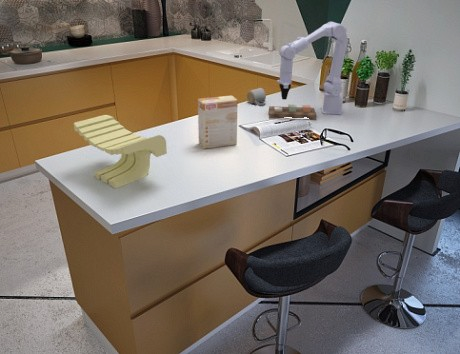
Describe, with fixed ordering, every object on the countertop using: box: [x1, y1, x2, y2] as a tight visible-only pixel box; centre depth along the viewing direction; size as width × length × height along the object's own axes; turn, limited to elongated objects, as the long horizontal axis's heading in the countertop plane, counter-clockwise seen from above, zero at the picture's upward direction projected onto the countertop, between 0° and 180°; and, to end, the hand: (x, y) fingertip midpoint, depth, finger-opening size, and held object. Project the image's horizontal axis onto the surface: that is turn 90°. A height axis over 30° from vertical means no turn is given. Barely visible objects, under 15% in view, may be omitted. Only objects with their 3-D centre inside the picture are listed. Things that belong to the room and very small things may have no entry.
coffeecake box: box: [197, 95, 238, 150], centre depth 178 cm, size 15×7×20 cm, turn 111°
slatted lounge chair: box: [73, 114, 168, 189], centre depth 150 cm, size 30×16×18 cm, turn 48°
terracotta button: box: [302, 104, 312, 113], centre depth 216 cm, size 4×4×3 cm
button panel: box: [268, 105, 318, 121], centre depth 218 cm, size 23×12×2 cm, turn 87°
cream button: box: [274, 106, 283, 112], centre depth 218 cm, size 4×4×3 cm
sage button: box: [287, 104, 298, 112], centre depth 217 cm, size 4×4×3 cm
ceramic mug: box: [246, 87, 267, 107], centre depth 234 cm, size 11×8×8 cm
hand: (284, 99), depth 215 cm, fingers closed
